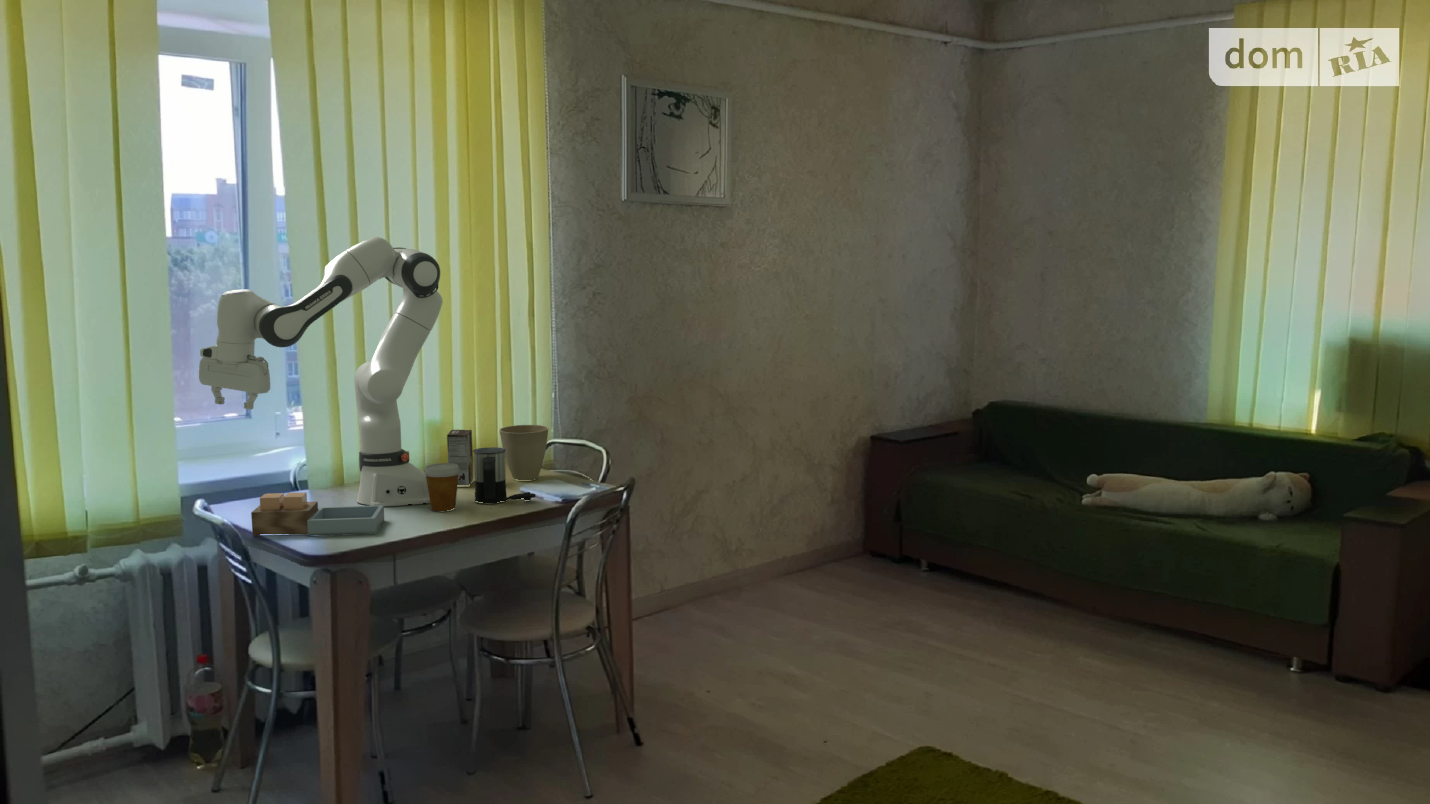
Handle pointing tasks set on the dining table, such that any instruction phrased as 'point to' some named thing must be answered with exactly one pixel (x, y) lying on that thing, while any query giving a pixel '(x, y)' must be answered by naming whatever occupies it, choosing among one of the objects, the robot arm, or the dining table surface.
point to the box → (346, 520)
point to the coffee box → (461, 454)
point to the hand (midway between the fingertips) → (234, 406)
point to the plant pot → (524, 449)
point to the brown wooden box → (282, 520)
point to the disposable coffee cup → (442, 485)
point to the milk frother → (492, 476)
